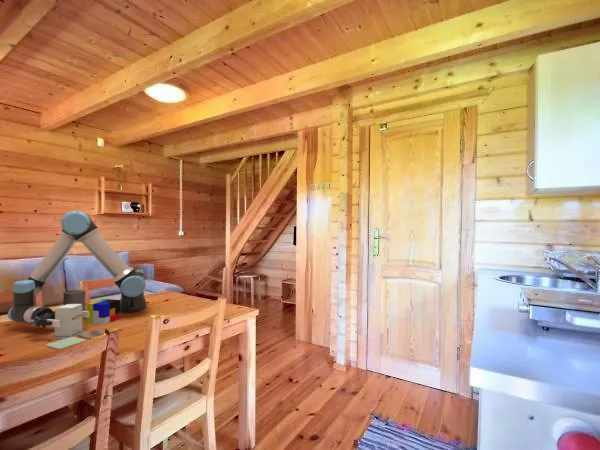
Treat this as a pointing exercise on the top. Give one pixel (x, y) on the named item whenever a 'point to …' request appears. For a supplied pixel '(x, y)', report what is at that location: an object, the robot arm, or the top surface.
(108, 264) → the robot arm
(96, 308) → the puzzle toy
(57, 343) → the sage pad
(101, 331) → the walnut pad
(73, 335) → the tile
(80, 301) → the pillar candle
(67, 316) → the supplement box
